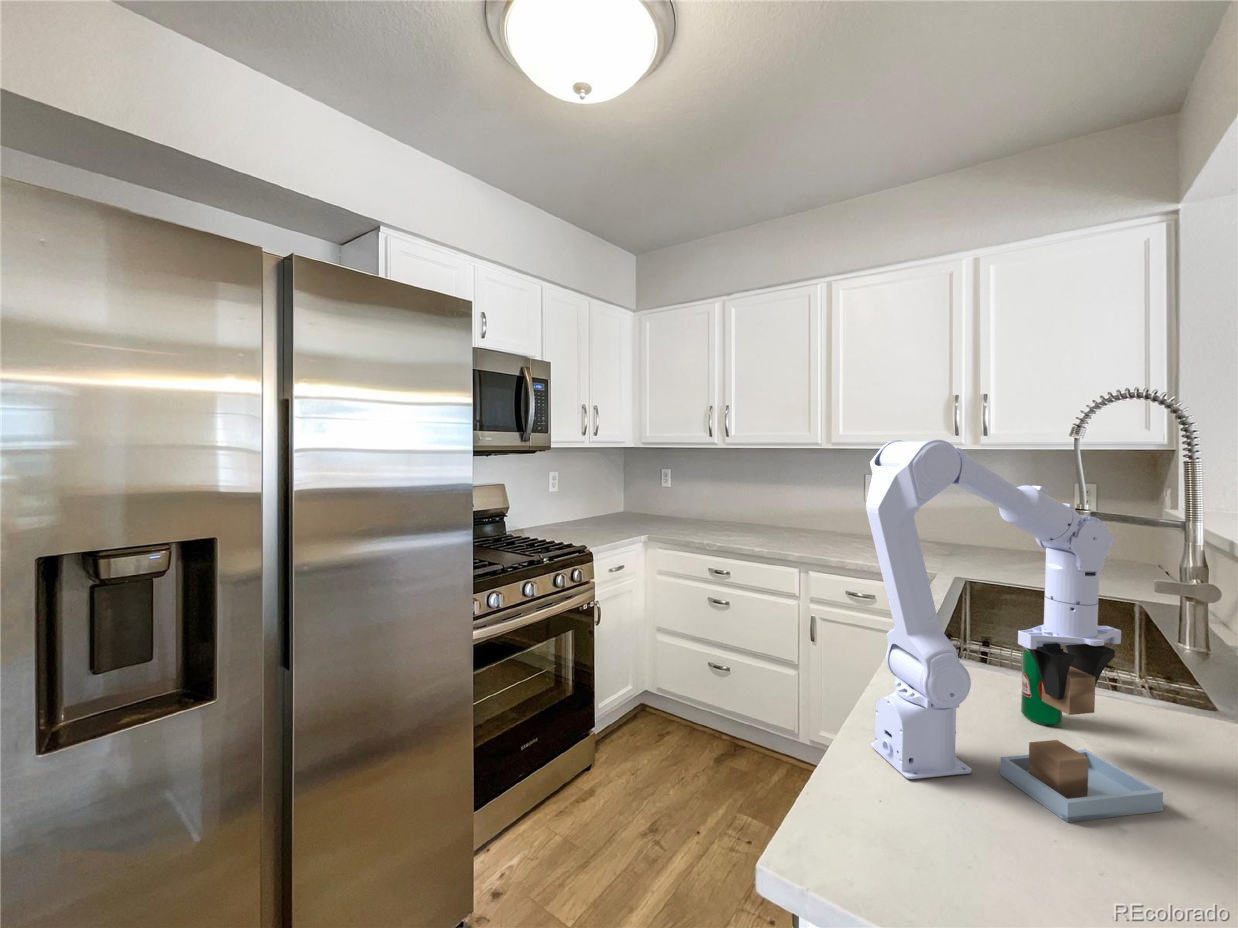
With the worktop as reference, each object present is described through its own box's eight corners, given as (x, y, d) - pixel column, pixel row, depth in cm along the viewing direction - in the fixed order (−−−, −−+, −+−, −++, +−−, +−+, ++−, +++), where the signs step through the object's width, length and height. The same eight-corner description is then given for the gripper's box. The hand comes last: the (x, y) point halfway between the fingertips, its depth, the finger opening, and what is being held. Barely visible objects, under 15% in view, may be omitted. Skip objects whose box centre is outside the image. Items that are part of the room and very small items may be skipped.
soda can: (1021, 708, 87) (1023, 636, 87) (1061, 718, 84) (1063, 643, 84) (1020, 720, 83) (1022, 645, 83) (1062, 731, 80) (1064, 653, 80)
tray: (1067, 822, 61) (1067, 802, 61) (1000, 774, 70) (1000, 757, 70) (1162, 810, 63) (1163, 791, 63) (1085, 765, 72) (1085, 748, 71)
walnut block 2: (1087, 798, 64) (1088, 757, 64) (1058, 801, 63) (1059, 760, 63) (1055, 777, 68) (1056, 739, 68) (1028, 780, 67) (1029, 742, 67)
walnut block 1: (1069, 714, 72) (1070, 678, 72) (1041, 700, 76) (1042, 666, 76) (1094, 712, 73) (1095, 676, 73) (1065, 698, 77) (1066, 664, 76)
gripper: (1053, 610, 69) (1050, 712, 69) (1147, 605, 71) (1143, 705, 71) (1006, 595, 76) (1003, 688, 76) (1092, 591, 78) (1089, 682, 78)
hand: (1067, 695), depth 74 cm, fingers closed on walnut block 1, 4 cm apart
